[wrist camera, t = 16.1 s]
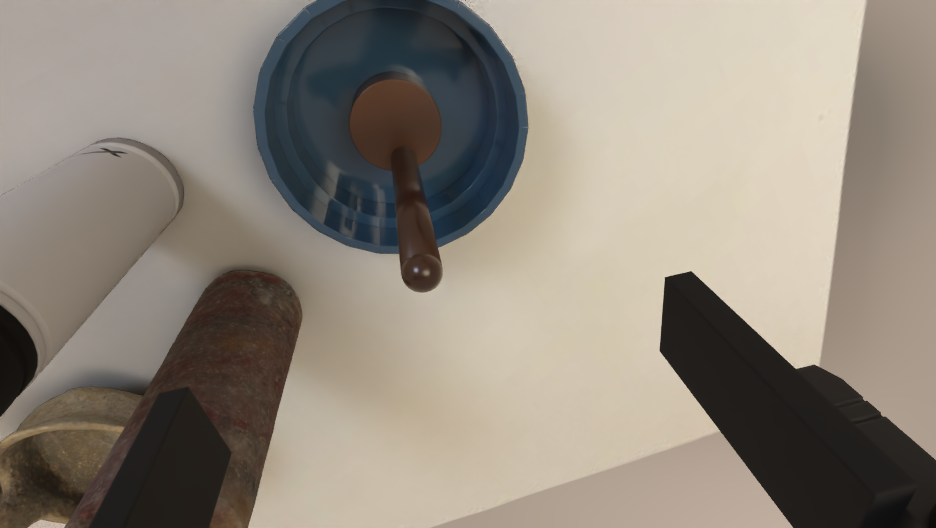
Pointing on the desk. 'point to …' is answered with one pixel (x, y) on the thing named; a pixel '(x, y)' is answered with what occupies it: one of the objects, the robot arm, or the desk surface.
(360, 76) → the mixing bowl
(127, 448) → the brown cylinder
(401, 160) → the ladle
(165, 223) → the travel mug
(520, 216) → the desk surface
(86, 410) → the bowl
